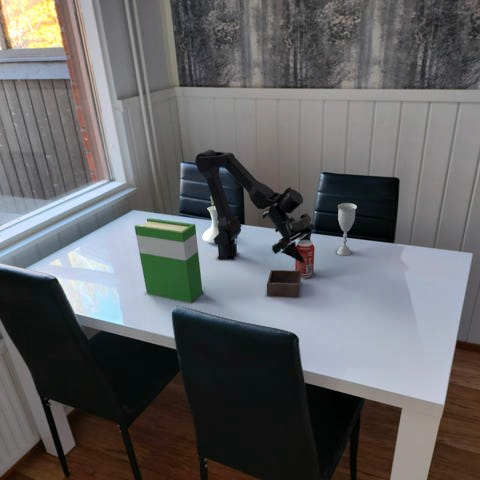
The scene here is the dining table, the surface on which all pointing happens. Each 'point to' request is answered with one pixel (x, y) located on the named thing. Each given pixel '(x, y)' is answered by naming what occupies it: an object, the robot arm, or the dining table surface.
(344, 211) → the chalice
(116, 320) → the dining table surface
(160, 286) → the hardback book
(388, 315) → the dining table surface
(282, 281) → the crate
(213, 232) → the flower in vase
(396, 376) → the dining table surface
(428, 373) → the dining table surface
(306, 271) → the beverage can
